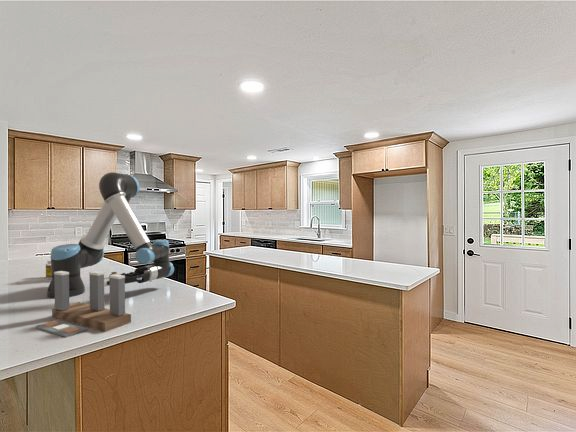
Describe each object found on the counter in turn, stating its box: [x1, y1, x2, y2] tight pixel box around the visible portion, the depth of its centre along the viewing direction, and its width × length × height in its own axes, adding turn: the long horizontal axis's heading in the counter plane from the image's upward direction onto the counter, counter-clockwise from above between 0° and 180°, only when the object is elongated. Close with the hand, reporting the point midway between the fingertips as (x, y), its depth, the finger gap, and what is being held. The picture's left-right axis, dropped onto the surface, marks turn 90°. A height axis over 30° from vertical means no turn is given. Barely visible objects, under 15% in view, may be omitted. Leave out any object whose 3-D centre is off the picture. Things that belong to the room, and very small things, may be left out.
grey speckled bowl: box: [104, 271, 118, 280], centre depth 188 cm, size 12×12×5 cm
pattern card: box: [35, 319, 88, 338], centre depth 113 cm, size 18×7×1 cm, turn 63°
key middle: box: [88, 270, 105, 311], centre depth 125 cm, size 3×5×14 cm, turn 63°
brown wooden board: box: [51, 301, 132, 333], centre depth 123 cm, size 32×10×3 cm, turn 63°
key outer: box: [108, 273, 126, 316], centre depth 119 cm, size 3×5×14 cm, turn 63°
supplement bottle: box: [45, 259, 51, 279], centre depth 192 cm, size 6×6×10 cm
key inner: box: [54, 271, 70, 311], centre depth 125 cm, size 3×5×14 cm, turn 63°
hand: (98, 284), depth 138 cm, fingers closed
